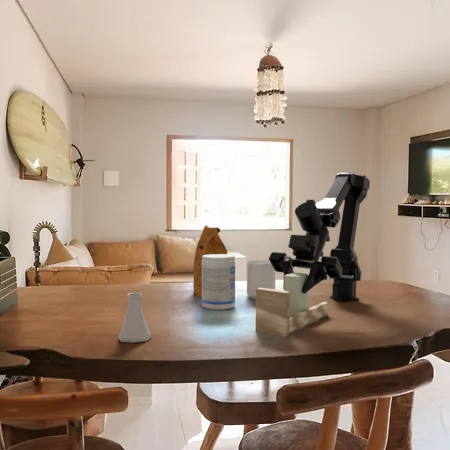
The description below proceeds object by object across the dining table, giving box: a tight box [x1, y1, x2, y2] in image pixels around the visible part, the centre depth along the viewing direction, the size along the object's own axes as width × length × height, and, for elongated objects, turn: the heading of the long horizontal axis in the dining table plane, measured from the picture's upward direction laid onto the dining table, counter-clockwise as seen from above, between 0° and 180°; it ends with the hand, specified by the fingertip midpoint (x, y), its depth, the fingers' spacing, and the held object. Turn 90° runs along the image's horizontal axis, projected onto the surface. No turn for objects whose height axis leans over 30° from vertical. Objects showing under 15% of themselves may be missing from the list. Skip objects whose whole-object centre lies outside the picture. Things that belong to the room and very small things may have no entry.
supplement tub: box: [201, 253, 236, 311], centre depth 134 cm, size 10×10×15 cm
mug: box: [246, 259, 276, 300], centre depth 149 cm, size 12×9×11 cm
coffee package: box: [192, 225, 228, 299], centre depth 150 cm, size 10×12×22 cm
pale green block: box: [283, 271, 309, 317], centre depth 118 cm, size 5×4×12 cm
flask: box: [118, 292, 152, 344], centre depth 104 cm, size 7×7×10 cm
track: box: [255, 288, 329, 338], centre depth 117 cm, size 24×8×10 cm, turn 145°
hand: (293, 291), depth 117 cm, fingers open, 5 cm apart
